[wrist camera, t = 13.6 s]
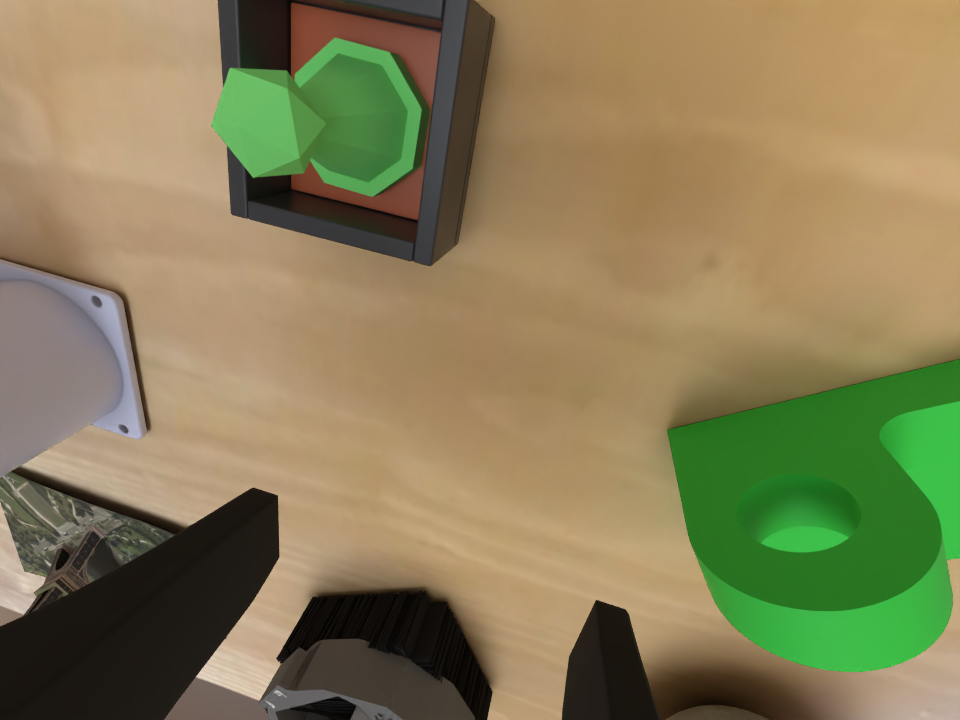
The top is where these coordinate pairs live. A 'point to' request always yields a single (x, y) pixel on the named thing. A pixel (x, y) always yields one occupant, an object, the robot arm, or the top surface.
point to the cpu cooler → (377, 663)
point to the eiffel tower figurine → (69, 537)
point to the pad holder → (438, 75)
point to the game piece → (328, 118)
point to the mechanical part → (831, 518)
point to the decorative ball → (715, 713)
